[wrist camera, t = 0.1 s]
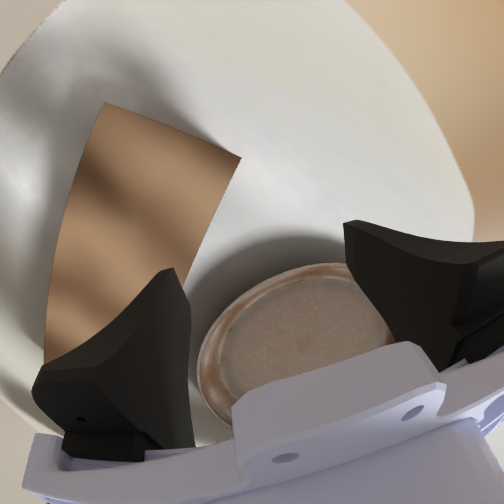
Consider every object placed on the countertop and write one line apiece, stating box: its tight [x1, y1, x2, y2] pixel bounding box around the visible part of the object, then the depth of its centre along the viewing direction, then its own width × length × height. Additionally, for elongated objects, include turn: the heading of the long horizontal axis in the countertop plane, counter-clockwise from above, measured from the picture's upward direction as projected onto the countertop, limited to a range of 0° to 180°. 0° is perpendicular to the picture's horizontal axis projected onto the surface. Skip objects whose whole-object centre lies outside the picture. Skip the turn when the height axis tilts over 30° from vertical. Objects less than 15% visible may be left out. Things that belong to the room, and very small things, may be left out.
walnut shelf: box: [44, 102, 241, 364], centre depth 20 cm, size 26×9×5 cm, turn 154°
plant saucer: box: [196, 263, 396, 429], centre depth 25 cm, size 21×21×3 cm
